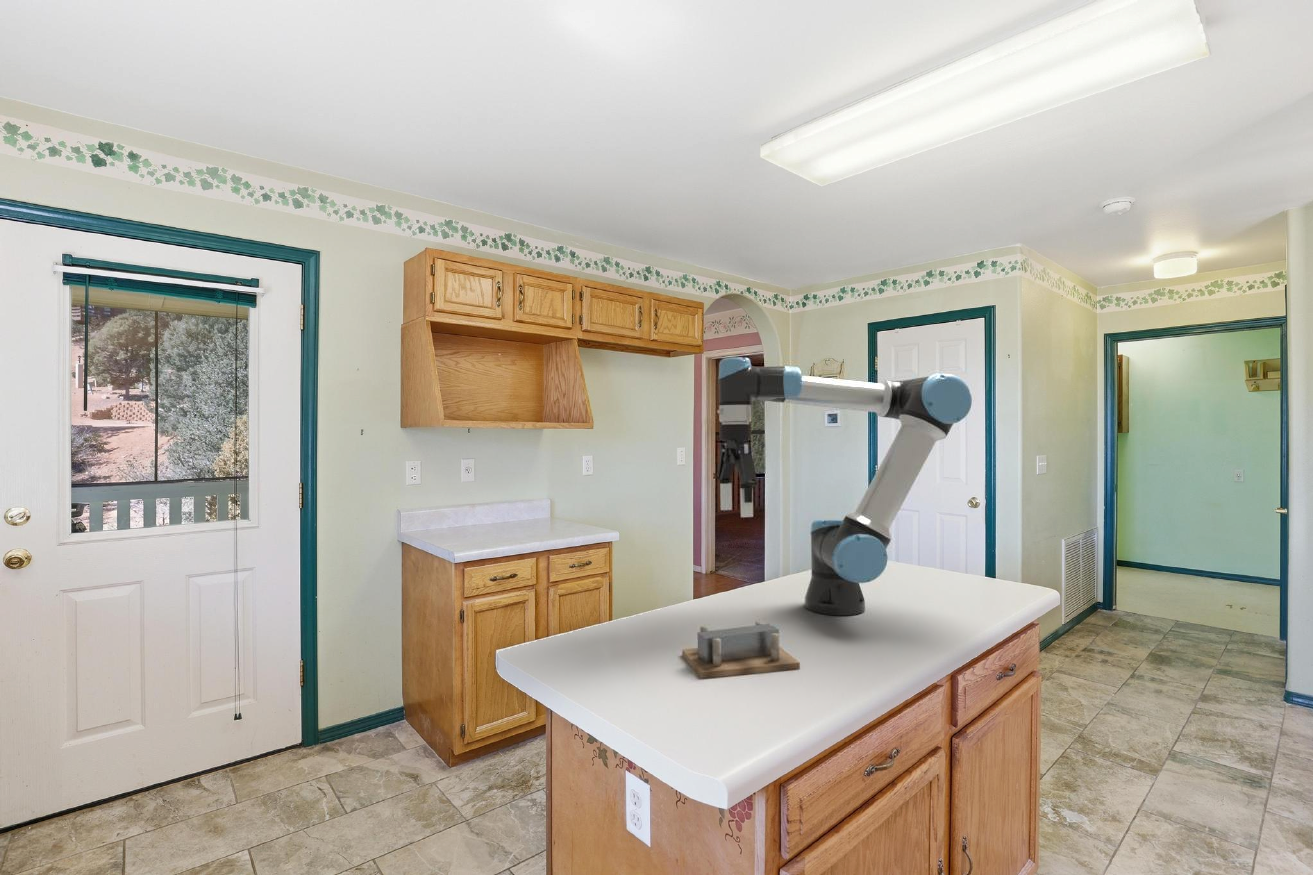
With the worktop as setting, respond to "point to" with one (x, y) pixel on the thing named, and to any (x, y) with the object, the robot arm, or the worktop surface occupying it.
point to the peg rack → (739, 667)
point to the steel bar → (737, 643)
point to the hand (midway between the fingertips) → (736, 513)
